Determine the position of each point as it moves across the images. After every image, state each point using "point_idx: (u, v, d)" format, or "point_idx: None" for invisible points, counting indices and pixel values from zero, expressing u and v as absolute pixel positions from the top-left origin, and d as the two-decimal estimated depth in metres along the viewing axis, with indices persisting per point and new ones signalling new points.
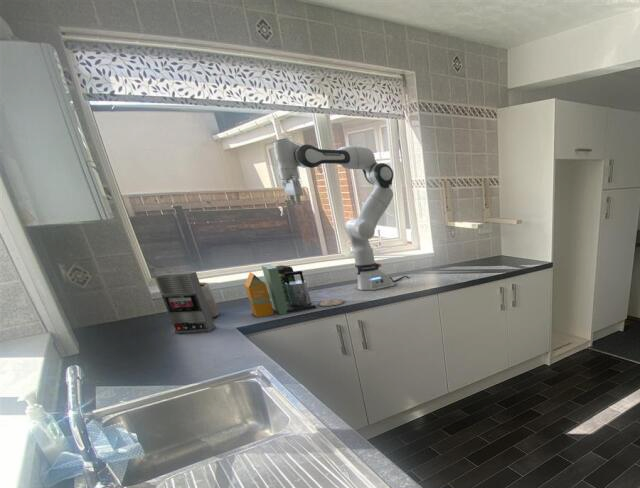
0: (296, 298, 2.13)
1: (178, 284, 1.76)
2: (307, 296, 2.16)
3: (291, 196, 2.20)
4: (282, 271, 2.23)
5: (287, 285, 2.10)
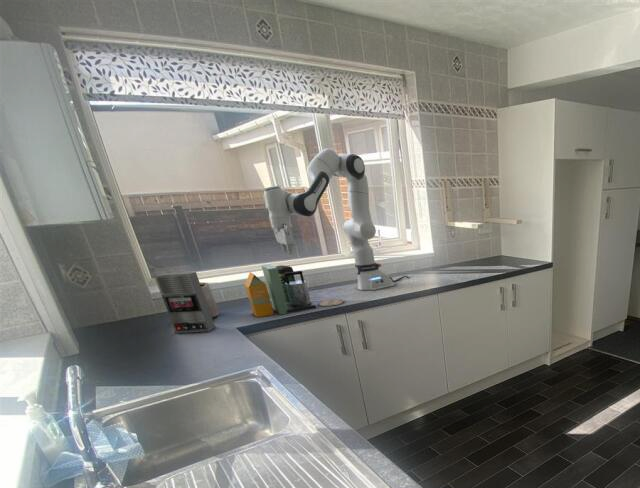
0: (296, 298, 2.13)
1: (178, 284, 1.76)
2: (307, 296, 2.16)
3: (283, 244, 2.09)
4: (282, 271, 2.23)
5: (287, 285, 2.10)
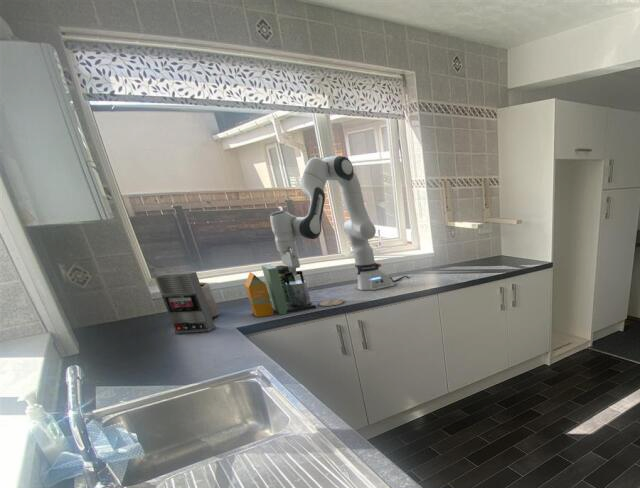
0: (296, 298, 2.13)
1: (178, 284, 1.76)
2: (307, 296, 2.16)
3: (290, 266, 2.12)
4: (282, 271, 2.23)
5: (287, 285, 2.10)
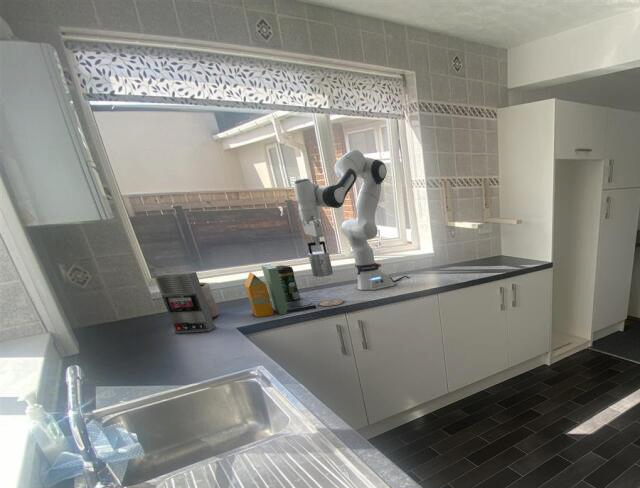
0: (319, 268, 2.12)
1: (178, 284, 1.76)
2: (330, 267, 2.15)
3: (313, 236, 2.11)
4: (282, 271, 2.23)
5: (310, 255, 2.09)
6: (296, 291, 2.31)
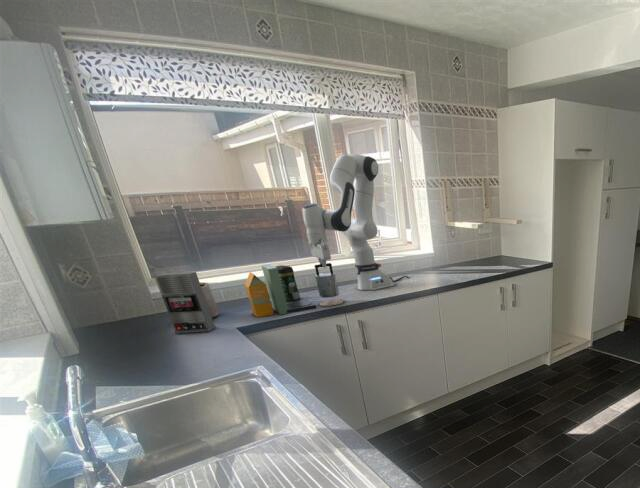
0: (326, 290, 2.17)
1: (178, 284, 1.76)
2: (336, 288, 2.20)
3: (320, 258, 2.16)
4: (282, 271, 2.23)
5: (317, 277, 2.14)
6: (296, 291, 2.31)
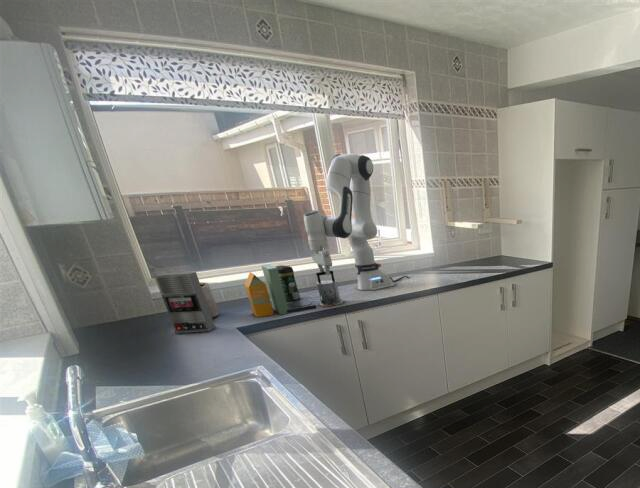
0: (328, 297, 2.18)
1: (178, 284, 1.76)
2: (337, 295, 2.22)
3: None
4: (282, 271, 2.23)
5: (319, 284, 2.16)
6: (296, 291, 2.31)
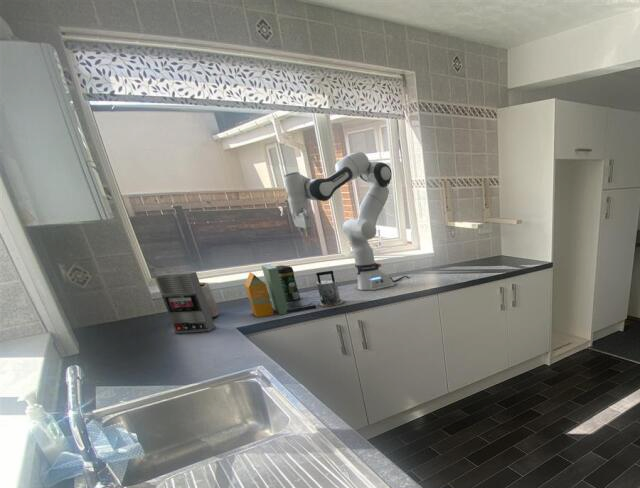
0: (328, 297, 2.18)
1: (178, 284, 1.76)
2: (337, 295, 2.22)
3: (301, 228, 2.20)
4: (282, 271, 2.23)
5: (319, 284, 2.16)
6: (296, 291, 2.31)
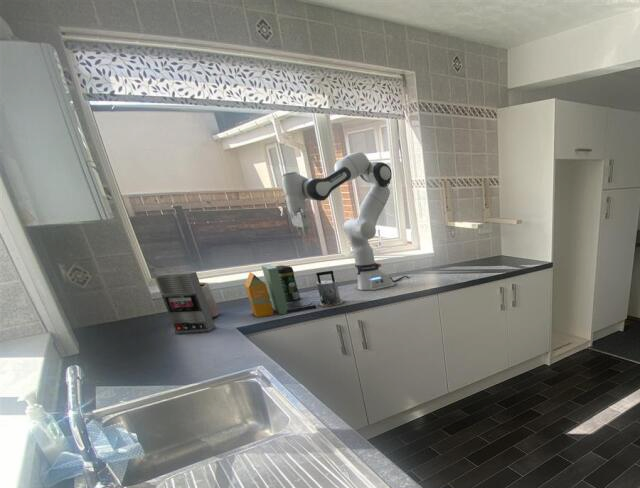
0: (328, 297, 2.18)
1: (178, 284, 1.76)
2: (337, 295, 2.22)
3: (298, 227, 2.22)
4: (282, 271, 2.23)
5: (319, 284, 2.16)
6: (296, 291, 2.31)
